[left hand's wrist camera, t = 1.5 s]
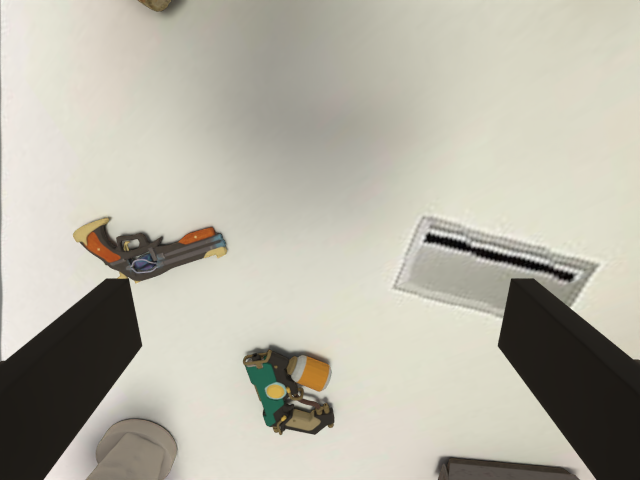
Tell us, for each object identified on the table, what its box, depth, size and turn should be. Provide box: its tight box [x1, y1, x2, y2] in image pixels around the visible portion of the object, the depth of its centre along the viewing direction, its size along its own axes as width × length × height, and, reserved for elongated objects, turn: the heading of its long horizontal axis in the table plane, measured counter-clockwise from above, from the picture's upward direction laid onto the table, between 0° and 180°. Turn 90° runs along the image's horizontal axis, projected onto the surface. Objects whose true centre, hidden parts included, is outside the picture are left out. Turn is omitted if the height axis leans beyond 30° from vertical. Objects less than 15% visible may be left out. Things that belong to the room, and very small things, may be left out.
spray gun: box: [243, 350, 334, 435], centre depth 59 cm, size 4×17×15 cm
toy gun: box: [73, 218, 227, 283], centre depth 51 cm, size 3×19×10 cm
